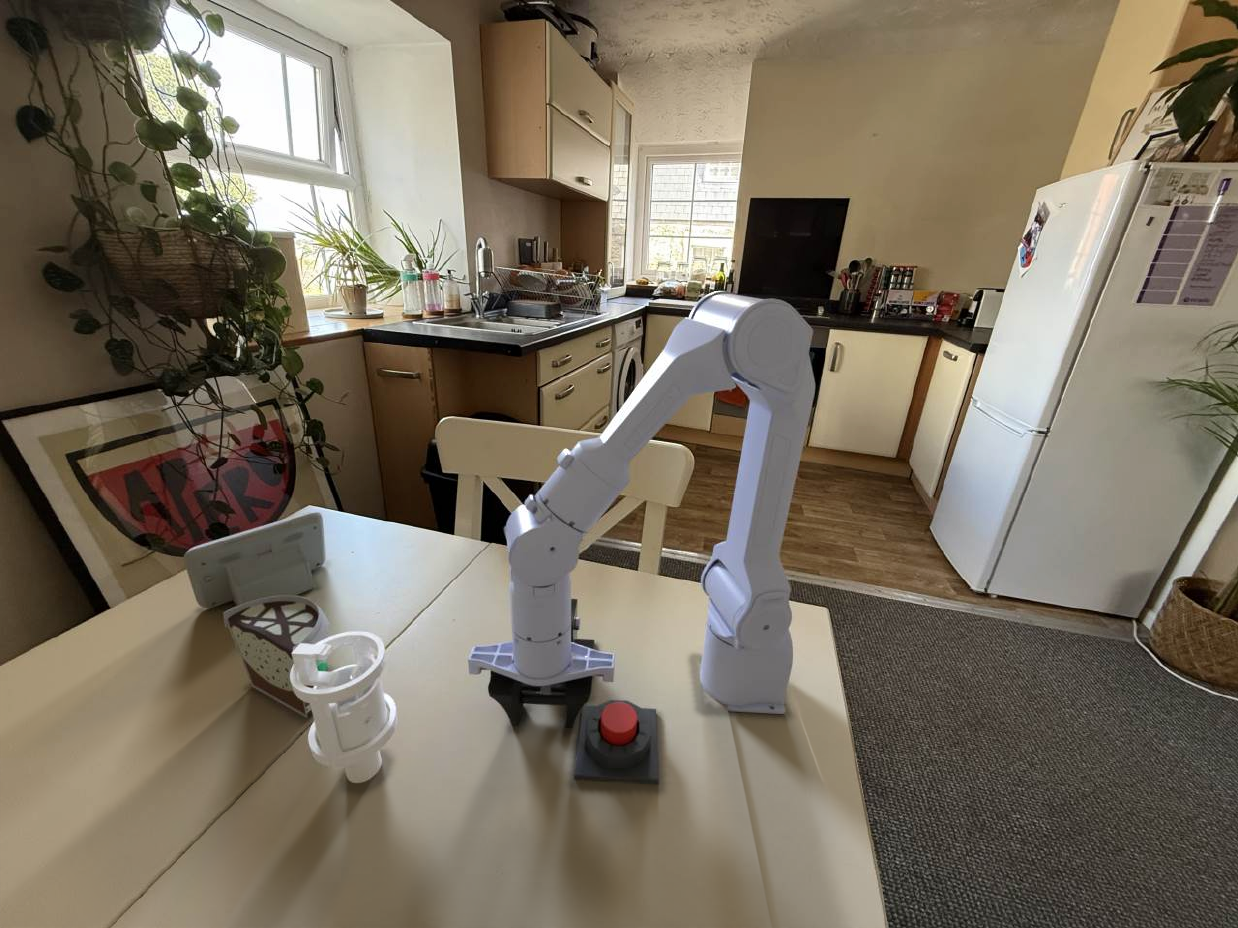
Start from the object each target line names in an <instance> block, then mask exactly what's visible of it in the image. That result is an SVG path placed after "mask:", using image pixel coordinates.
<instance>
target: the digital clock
mask: <svg viewBox="0 0 1238 928" xmlns="http://www.w3.org/2000/svg"><path fill="white" fill-rule="evenodd" d="M324 527H325V526H324V518H323V515H322V513H320V512H317V511H309V512H304V513H301V514H297V515H293V516H289V517H288V518H283V519H281V520H277V521H273V522H271V523H270V522H269V523H267V524H264V525H261V526H260V525H259V526H257V527H254V528H251V529H247V530H244V531H241V532H238V533H235V534H231V535H228V536H224V537H221V538H218V539H215V540H211V541H207V542H205V543H201V544H198V545H196V546H193V547H191V548H190V549H188V550H187V551H186V552H184V553H185V554H183V563H184V566H185V569H186V572H187V576H188V578H189V582H190V585H191V588H192V591H193V594H194V598H195V601H196V603H197V605H198V606H200V607H201V608H204V609H212V608H215V607H219V606H222V605H224V604H227V603H229V602H232V601H233V602H234V604H235V605H236V606H239V605H241V604H244V603H247V602H250V601H253V600H257V599H261V598H266V597H271V596H279V595H296V596H299V595H300V594H303V593H306V592H308V591H310V590H312V589H316V586H315V582H314V578H313V573H312V571H314V570H316V569H319V568H320V567H322V566H323V565H324V564H325V562H326V558H327V557H326V544H325V542H326V541H325V529H324Z"/></svg>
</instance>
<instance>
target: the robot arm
mask: <svg viewBox="0 0 1238 928" xmlns="http://www.w3.org/2000/svg"><path fill="white" fill-rule="evenodd" d="M813 335H814V330H813V328H812V327H811V325H810V324H808V322H807V321H806V320H805V319H804V318H803V316H802V315H801V314H800V313H799V312H798V311H797V310H796V308H795V307H793V306H792V304H790V303H788V302H787V301H785V300H782V299H778V298H759V297H752V296H747V295H739V294H736V293H734V292H731V291H728V290H718V291H717V290H716V291H714V292H710V293H708V294H706V295H704V296H703V297H702V298H700V299H699V300H698V301H697V302H696V303H695V305H694V306H693V307H692V309H691V311H690V313H689V315H688V317H684V318H683V319H682V320H681V321H680V322H678V324H677V325H675V327H674V328H673V330H672V333H671V335H670V336H669V338H668V340H667V343H666V344H665V346H664V348H663V349H662V350H661V352H660V354H659V355H658V357H657V358H656V360H655V361H654V362H653V363H652V365H651V366H650V368H649V369H648V370H647V372H646V373H645V374H644V376H643V377H642V379H641V380H640V381H639V382H638V384H637V385H636V387H635V388H634V389H633V391H632V392H631V394H630V395H629V396H628V397H627V399H626V400H625V402H624V403H623V404H622V406H621V408H619V410H618V412H617V413H616V414H615V415H614V417H613V418H612V419H611V421H610V422H609V423H608V425H607V427H606V428H605V429H604V431H603V432H602V433H601V434H600V435H599V436H598V437H593V438H588V439H582V440H579V441H578V442H577V443H576V444H575V445H574V447H573V448H572V449H571V450H569V449H567V448H564V449H563V450H562V451H561V452H560V454H559V455H558V456H557V457H556V461H557V464H558V467H557V468H556V470H554V472H553V473H552V474H551V475H550V477H548V479H547V480H546V482H545V483H543V485H542V487H541V488H540V489H539V490H538V491H537V492H536V494H535V495H534V494H529V495H528V497H526V499H525V501H524V504H521V505H519V506H518V507H517V508H515V509H514V510H513V511H512V512H511V514H510V515H509V516H508V519H507V521H506V524H505V526H504V527H503V533H504V536H505V539H506V546H507V554H508V555H507V557H508V563H509V566H510V567H509V580H510V582H509V602H510V603H509V604H510V622H511V637H512V638H511V639H512V640H511V641H506V642H499V643H495V644H489V645H474V646H473V647H472V649H471V651H470V653H469V654H470V655H469V656H468V659H467V663H468V673H469V675H474V676H475V675H480V674H482V671H490V672H489V673H490V677H489V683H488V685H487V692H488V695H489V697H490V698H491V699H493V700H494V701H495V702H497V704H499V705H500V706H501V708H502V709H503V711H504V712H505V714H506V715H507V718H508V719H509V722H510V724H511V726H515V727H517V726H520V722H521V718H522V713H523V710H524V704H523V703H521V694H522V692H523V690H522V682H523V683H526V684H529V685H533V686H546V685H551V684H556V683H560V682H565V681H567V687H566V693H565V692H564V693H565V702H566V706H565V711H566V716H565V724H564V729H568V730H569V729H570V730H571V729H573V727H574V724H575V722H576V718H577V717H578V714H579V713H580V711H581V710H582V707H583V705H586V704H587V703H588V701H589V699H590V698H591V694H592V687H593V686H592V685H593V677H598V678H602V682H604V683H614V680H615V662H616V660H615V659H616V654H615V653H611V652H604V651H600V650H596V649H594V650H593V649H590V648H587V647H584V646H581V645H578V644H575V643H572V642H571V599H572V580H571V577H570V575H571V573H572V572H573V571H574V570H575V569H576V568H577V565H578V563H579V558H580V551H579V549H580V545H581V544H582V543H583V542H584V538H585V536H586V535H587V534H588V533H589V532H590V531H591V530H592V528H593V527H594V526H595V525H596V524H597V522H598V521H599V520H600V519H601V517H602V516H603V515H604V514H605V513H606V511H608V509H609V508H610V507H611V506H612V504H614V502H615V501H616V500H617V498H618V497H619V496H620V495H621V494H622V492H623V491H624V490H625V489H626V488H627V487H628V485H629V484H630V463H631V461H632V460H633V459H634V458H635V457H636V456H637V455H638V454H639V453H640V452H641V451H642V449H643V448H645V446H646V445H647V444H649V442H650V441H651V440H652V439H653V438H654V437H655V436H656V435H657V433H658V432H659V431H660V430H661V429H662V428H663V427H664V426H665V425H666V424H667V423H668V422H669V421H670V420H671V419H672V418H673V417H674V415H676V413H677V412H678V411H679V410H680V409H681V408H682V407H683V406H684V405H685V404H686V403H687V401H688V400H690V398H691V397H693V396H695V395H700V394H709V393H714V392H722V391H730V390H733V389H735V388H737V386H738V388H740V390H741V391H742V392H743V393H744V394H745V395H746V396H747V397H748V399H749V406H748V412H747V417H746V423H745V428H744V429H745V431H744V436H743V440H742V446H741V452H740V453H741V454H740V459H739V463H738V470H737V474H736V475H737V477H736V482H735V486H734V487H735V488H734V493H733V500H732V504H731V505H732V506H731V510H730V516H729V517H730V518H729V523H728V529H727V535H726V540H724V541H720V542H718V543H717V544H714V546H713V548H712V554H711V557H710V559H709V561H708V563H707V564H706V565H705V567H704V569H703V570H702V573H701V577H700V585H701V589H702V590H703V592H704V593H705V594H706V596H707V597H708V604H707V607H708V611H707V616H706V625H705V632H704V638H703V639H704V640H703V647H702V654H701V655H702V656H701V661H700V670H699V671H700V672H699V681H700V685H701V687H702V688H703V690H704V691H705V692H706V694H707V695H708V696H710V697H711V698H712V699H714V700H715V701H717V702H719V703H720V704H723V705H726V708H727V711H728V712H734V713H735V712H736V713H737V712H738V713H753V714H754V713H755V714H773V715H774V714H775V715H784V714H785V713H786V706H785V700H786V696H787V691H788V687H789V682H790V678H791V673H792V669H793V663H794V661H793V660H794V646H793V640H792V639H793V638H792V635H791V632H790V627H791V624H792V622H793V612H792V608H791V605H790V596H791V591H792V590H791V589H792V588H791V585H790V582H789V579H788V577H787V574H786V571H785V568H784V566H783V563H782V560H781V558H780V553H781V549H782V544H783V539H784V535H785V529H786V526H787V521H788V516H789V512H790V508H791V504H792V503H791V502H792V498H793V493H794V489H795V484H796V480H797V476H798V471H799V467H800V462H801V457H802V453H803V448H804V443H805V439H806V434H807V431H808V426H809V421H810V417H811V412H812V407H813V402H814V399H815V393H816V381H815V380H816V379H815V375H814V371H813V366H812V362H811V357H810V354H809V353H810V348H811V344H812V338H813Z"/></svg>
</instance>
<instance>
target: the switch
mask: <svg viewBox="0 0 1238 928" xmlns="http://www.w3.org/2000/svg"><path fill="white" fill-rule="evenodd" d="M551 691H552V684H551V685H546V686H541V689H540V691H528V690H522V694H521V703H523V705H525V704H526V705H542V706H561V707H566V702H565V692H551Z"/></svg>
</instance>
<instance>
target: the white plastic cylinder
mask: <svg viewBox="0 0 1238 928" xmlns="http://www.w3.org/2000/svg"><path fill="white" fill-rule="evenodd" d="M341 645H345V646H353V650H354V652H355V658H356V663H354V664H348V665H344V666H341V667H339V668H336V669H334V670H331V671H329V670H328V671H318V669H317V665H316V661H315V659H320V660H326V659H327V658H328V657H329V656H330V655H331V653H332V652H333V651H334V650H336V649H338V648H339V647H340V646H341ZM370 648H372V649H374V650H375V651H376V652H377V656H376V655H375V653H371V649H370ZM292 657H293V661H294V664H293V666H292V668H291V672H290V680H291V684H292V687H293V691H294V693H295V695H296V696H297V697H298V698H299V699H301V700H302V701H304V702H307V703H310V706H311V709H312V713H313V714H312V716H313V722H312V724H311V725H310V727H309V731H308V734H307V735H308V736H307V741H308V745H309V749H310V752H311V755H312V757H313V759H314V760H315V761H316V762H317V763H319V764H320V765H323V766H326V767H330V768H340V767H341V768H344V772H345V775H346V778H347V780H348V781H349V782H350V783H353V784H361V783H364V782H367V781H369V780H371V779H372V778H373V777H374V776H376V775H377V774H378V772H379V771H380V770H381V767H382V764H383V760H382V755H381V751H380V750H381V749H382V748H383V747H384V746H385V745H386V744H387V743H388V742H389V741H390V739H391V738H392V736H393V735H394V733H395V731H396V728H397V724H398V712H397V706H396V703H395V701H394V699H393V697H391V696H390V694H388V693H386V692H384V687H383V683H382V678H381V675H382V673H383V672H384V669H385V667H386V664H387V653H386V647H385V644H384V641H383V640H382V639H381V638H380V636H378V635H376V634H375V633H372V632H368V631H363V630H361V631H360V630H353V631H345V632H341V633H337V634H334V635H331V636H327V638H326V639H323V640H321V641H319V642H318V643H316V644H305V643H300V644H299V645H298V646H297V647H296V648H295V649H294V651H293V652H292ZM304 685H310V686H314V687H313V688H309V687H307V686H304ZM388 711H389V714H388ZM318 741H319V744H320V746H319V745H318Z"/></svg>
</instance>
